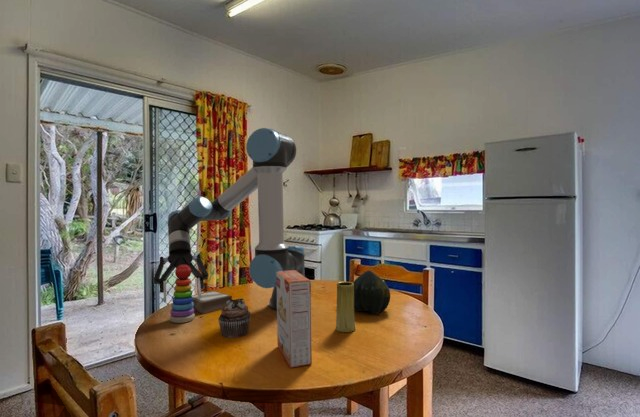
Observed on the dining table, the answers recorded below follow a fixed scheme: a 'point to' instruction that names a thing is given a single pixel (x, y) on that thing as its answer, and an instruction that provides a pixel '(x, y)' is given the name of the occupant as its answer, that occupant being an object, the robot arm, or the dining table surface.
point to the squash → (370, 293)
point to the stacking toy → (182, 297)
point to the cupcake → (234, 319)
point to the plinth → (210, 302)
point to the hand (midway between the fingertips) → (182, 298)
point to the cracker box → (294, 317)
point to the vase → (345, 307)
